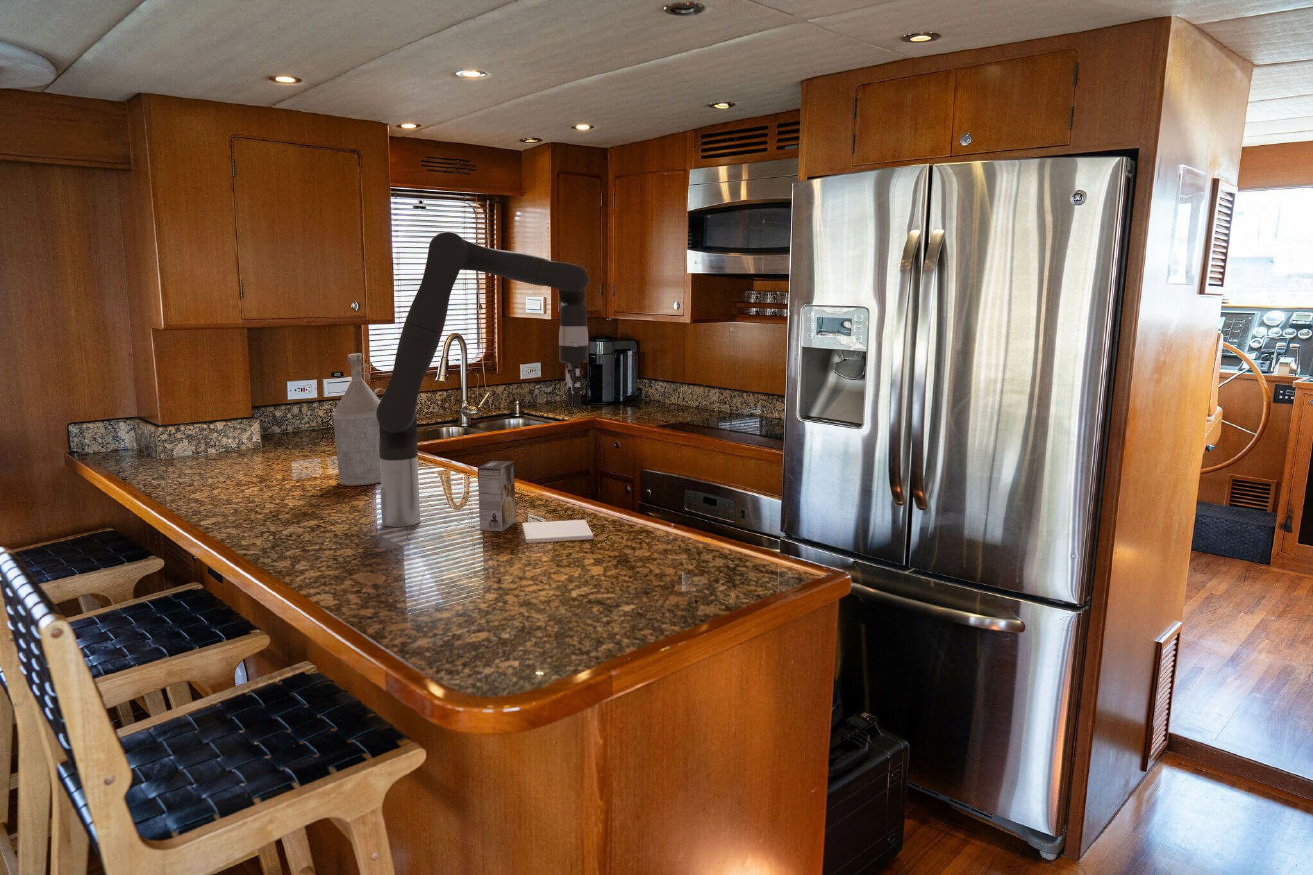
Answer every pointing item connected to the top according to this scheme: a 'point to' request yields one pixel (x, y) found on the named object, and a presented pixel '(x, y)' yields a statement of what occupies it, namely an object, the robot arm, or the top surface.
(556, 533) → the mat
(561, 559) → the top surface
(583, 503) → the top surface
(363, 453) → the grey bottle
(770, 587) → the top surface
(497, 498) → the coffee box
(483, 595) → the top surface
